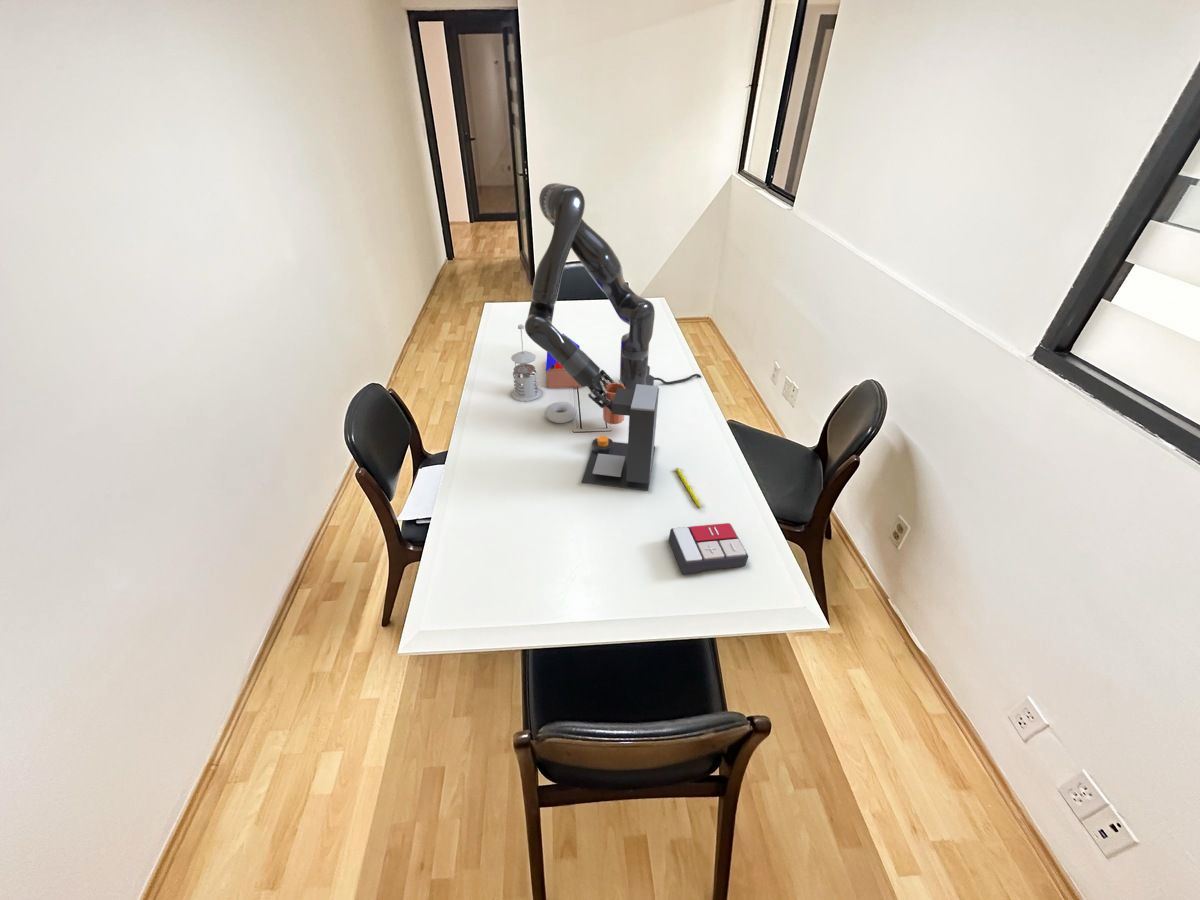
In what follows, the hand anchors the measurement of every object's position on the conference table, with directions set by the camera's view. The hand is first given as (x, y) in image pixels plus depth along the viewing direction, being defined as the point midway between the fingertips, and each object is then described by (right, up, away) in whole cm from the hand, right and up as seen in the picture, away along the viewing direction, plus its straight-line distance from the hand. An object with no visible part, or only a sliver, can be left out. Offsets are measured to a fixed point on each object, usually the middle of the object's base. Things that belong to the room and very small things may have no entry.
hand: (619, 405), depth 156 cm
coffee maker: (+1, -18, -13) cm, 22 cm away
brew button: (-5, -11, -4) cm, 13 cm away
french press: (-31, +6, +24) cm, 40 cm away
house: (-19, +14, +35) cm, 43 cm away
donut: (-18, -3, +12) cm, 22 cm away
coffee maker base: (0, -17, -8) cm, 19 cm away
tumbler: (-2, -4, +3) cm, 5 cm away
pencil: (+18, -24, -17) cm, 34 cm away
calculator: (+19, -37, -35) cm, 54 cm away
